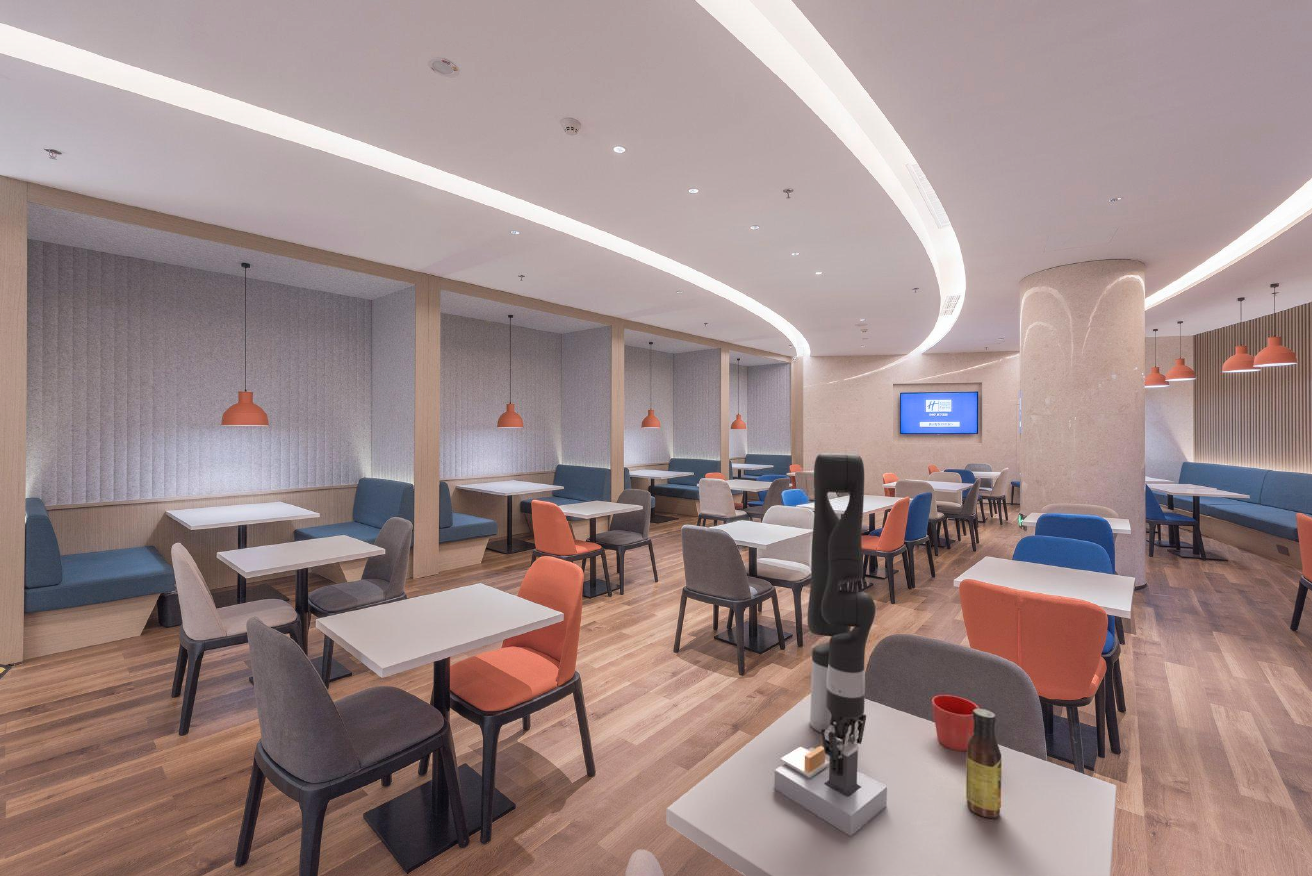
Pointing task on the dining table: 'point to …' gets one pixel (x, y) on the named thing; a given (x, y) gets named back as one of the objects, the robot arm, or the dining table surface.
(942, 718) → the flower pot
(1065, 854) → the dining table surface
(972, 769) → the sauce bottle
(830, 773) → the plug
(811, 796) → the socket block
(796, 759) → the shutter
